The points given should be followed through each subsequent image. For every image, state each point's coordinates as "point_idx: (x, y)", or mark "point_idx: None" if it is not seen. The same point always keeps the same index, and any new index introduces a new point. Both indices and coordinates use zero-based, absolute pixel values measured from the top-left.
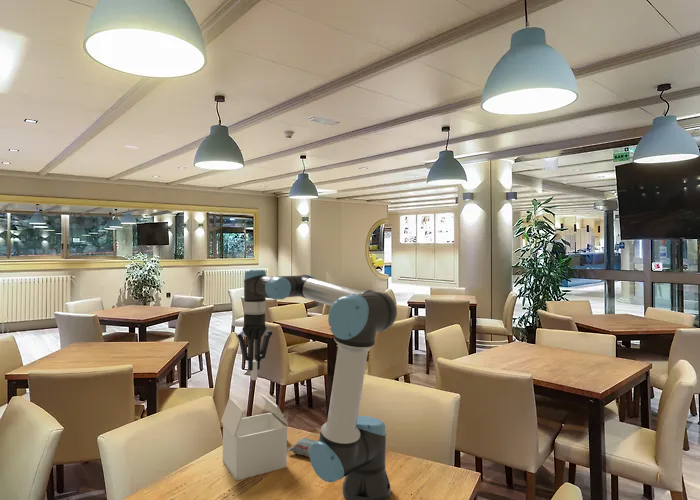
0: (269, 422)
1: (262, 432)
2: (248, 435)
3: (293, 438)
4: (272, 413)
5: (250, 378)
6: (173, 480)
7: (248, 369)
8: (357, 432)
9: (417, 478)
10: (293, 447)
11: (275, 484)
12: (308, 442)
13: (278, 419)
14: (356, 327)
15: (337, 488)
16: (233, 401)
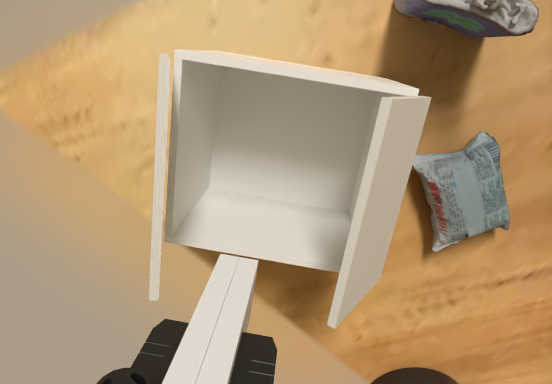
0: (398, 96)
1: (264, 259)
2: (209, 249)
3: (511, 53)
4: (480, 4)
5: (220, 255)
6: (62, 76)
7: (161, 324)
8: None
9: None
10: (422, 174)
11: (278, 265)
12: (466, 211)
13: (491, 25)
14: None
15: (379, 362)
16: (158, 145)
